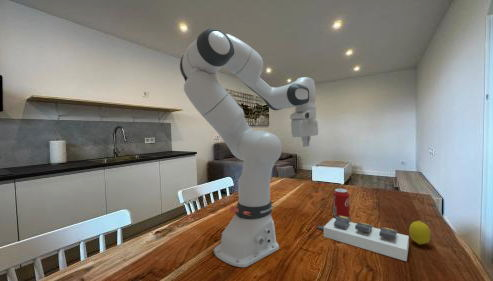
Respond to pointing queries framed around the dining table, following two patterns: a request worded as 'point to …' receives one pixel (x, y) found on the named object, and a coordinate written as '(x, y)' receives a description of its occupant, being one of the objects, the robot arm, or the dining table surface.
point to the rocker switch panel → (368, 240)
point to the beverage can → (341, 203)
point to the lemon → (419, 232)
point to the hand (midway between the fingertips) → (306, 146)
